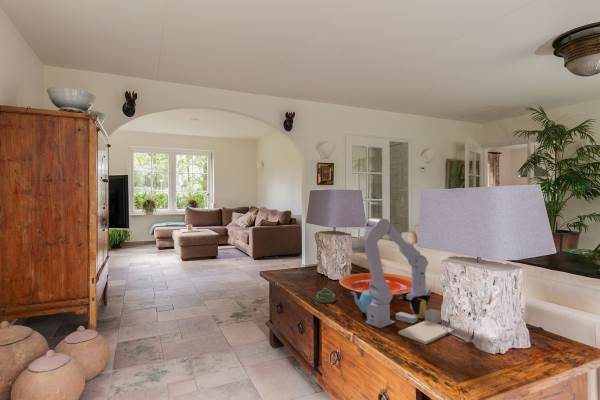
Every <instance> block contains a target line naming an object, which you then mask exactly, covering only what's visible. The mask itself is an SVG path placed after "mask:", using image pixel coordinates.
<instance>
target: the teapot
mask: <svg viewBox="0 0 600 400" xmlns="http://www.w3.org/2000/svg"><path fill="white" fill-rule="evenodd" d="M350 293H351V294H352V295H353V298H354V302H355V305H357V307H359V309H360V311H361V313H364V314H365V315H364V316H365V317H367V307H368V305H370V304H371V303H372V297H371V296H370V294H369V288H368V289H367V290H363V291H362V293H361V295H360V297H359V299H358V295H357V293H356V292H355V291H350Z"/></svg>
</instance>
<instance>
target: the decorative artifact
mask: <svg viewBox="0 0 600 400" xmlns="http://www.w3.org/2000/svg"><path fill="white" fill-rule="evenodd" d="M315 302H317V303H322V304H330V302H331V303H333V302H336V294H335V293H333V292H332V290H330V289H328V287H327V286H324V288H322V289H321V290H320V291H317V294H316V295H315Z"/></svg>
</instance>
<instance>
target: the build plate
mask: <svg viewBox="0 0 600 400" xmlns="http://www.w3.org/2000/svg"><path fill="white" fill-rule="evenodd" d="M410 292H411V291H410ZM410 292H409V293H410ZM409 293H406V294H403V293H402V296H400V297H398V298H397V299H396V300H398V301H403V302H408V303H410V301H409V300H408V299H407V294H409Z"/></svg>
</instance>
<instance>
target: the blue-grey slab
mask: <svg viewBox="0 0 600 400" xmlns="http://www.w3.org/2000/svg"><path fill="white" fill-rule="evenodd" d="M394 315H395V320H398V321H401V322H405V323H408V324H411V325H413V324H415V323H417V322H418V318H417V316H415V315H413V314H411V313H407V312H403V311H399V312H396V313H395V314H394Z"/></svg>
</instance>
